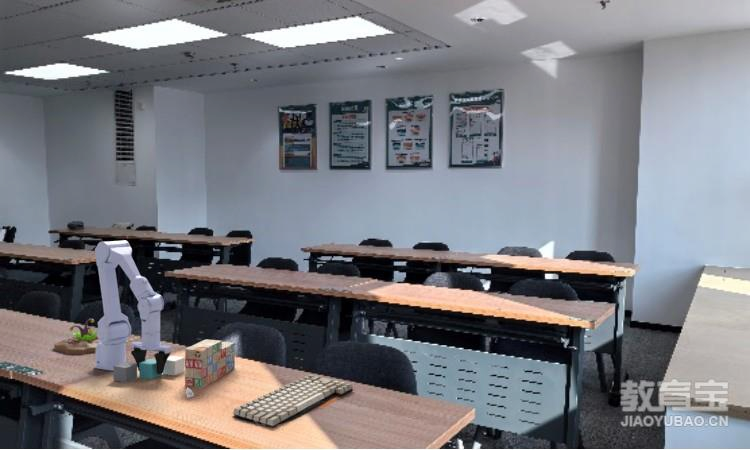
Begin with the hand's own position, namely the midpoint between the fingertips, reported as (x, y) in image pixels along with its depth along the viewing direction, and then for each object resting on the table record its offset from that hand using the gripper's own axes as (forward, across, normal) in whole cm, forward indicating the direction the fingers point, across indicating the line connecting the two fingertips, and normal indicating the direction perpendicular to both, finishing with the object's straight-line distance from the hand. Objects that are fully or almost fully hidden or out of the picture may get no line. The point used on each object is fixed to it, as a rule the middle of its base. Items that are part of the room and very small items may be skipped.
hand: (150, 371), depth 189 cm
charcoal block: (+2, -5, -6) cm, 8 cm away
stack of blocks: (+2, +18, +7) cm, 20 cm away
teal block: (+2, 0, 0) cm, 2 cm away
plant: (+2, -47, +19) cm, 51 cm away
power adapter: (+2, +24, -10) cm, 26 cm away
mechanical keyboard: (+2, +55, -3) cm, 55 cm away
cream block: (+2, +4, +6) cm, 8 cm away
